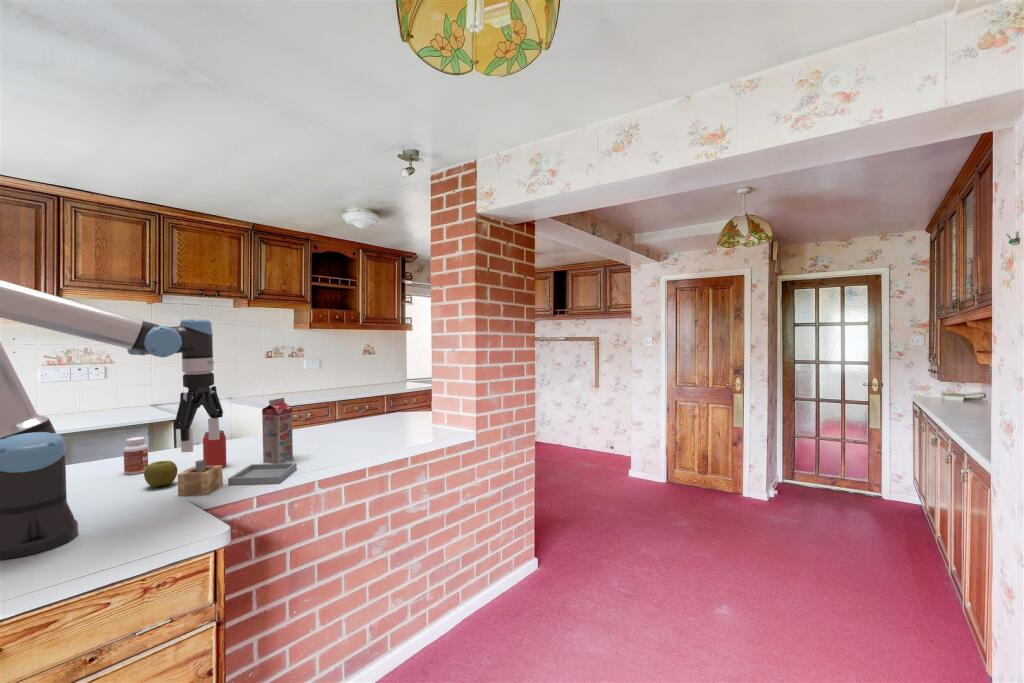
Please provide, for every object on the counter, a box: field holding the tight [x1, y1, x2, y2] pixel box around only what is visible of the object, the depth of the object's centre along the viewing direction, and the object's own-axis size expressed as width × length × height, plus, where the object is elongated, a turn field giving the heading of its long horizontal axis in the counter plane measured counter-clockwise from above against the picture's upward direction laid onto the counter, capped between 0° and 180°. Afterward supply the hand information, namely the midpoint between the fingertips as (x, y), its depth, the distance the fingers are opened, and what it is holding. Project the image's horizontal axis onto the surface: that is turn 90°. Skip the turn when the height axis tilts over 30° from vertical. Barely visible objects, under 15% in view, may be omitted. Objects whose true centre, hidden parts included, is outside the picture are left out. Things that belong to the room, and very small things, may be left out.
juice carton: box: [261, 397, 294, 464], centre depth 166 cm, size 7×7×22 cm
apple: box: [143, 460, 178, 488], centre depth 140 cm, size 8×8×7 cm
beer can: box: [202, 429, 227, 468], centre depth 159 cm, size 7×7×12 cm
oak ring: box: [177, 465, 224, 496], centre depth 136 cm, size 8×8×6 cm
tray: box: [227, 462, 298, 486], centre depth 149 cm, size 15×15×2 cm
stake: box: [195, 459, 206, 472], centre depth 136 cm, size 2×2×8 cm
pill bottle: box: [123, 436, 149, 475], centre depth 154 cm, size 6×6×11 cm
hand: (201, 445), depth 136 cm, fingers open, 13 cm apart
